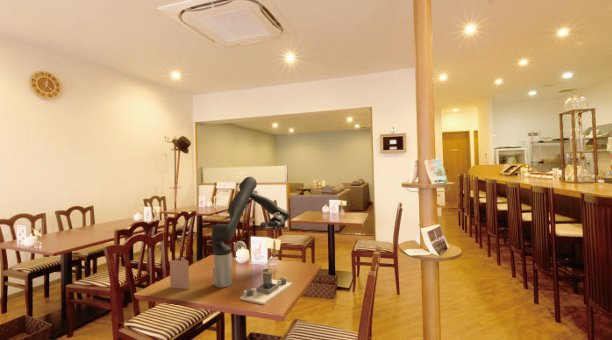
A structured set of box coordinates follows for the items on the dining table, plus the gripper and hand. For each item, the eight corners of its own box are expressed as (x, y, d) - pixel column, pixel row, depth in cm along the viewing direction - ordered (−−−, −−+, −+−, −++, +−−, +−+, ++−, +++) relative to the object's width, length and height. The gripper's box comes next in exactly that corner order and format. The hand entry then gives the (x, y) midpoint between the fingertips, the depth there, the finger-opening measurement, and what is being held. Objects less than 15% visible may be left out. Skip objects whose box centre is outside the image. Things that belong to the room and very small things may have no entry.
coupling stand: (240, 299, 146) (240, 291, 146) (270, 280, 169) (270, 274, 169) (263, 304, 140) (263, 297, 140) (292, 284, 163) (291, 278, 163)
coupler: (261, 290, 153) (260, 271, 153) (266, 287, 158) (266, 268, 158) (268, 292, 151) (268, 272, 151) (274, 288, 155) (273, 269, 155)
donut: (233, 254, 224) (232, 241, 224) (235, 253, 227) (235, 240, 227) (244, 255, 220) (244, 241, 220) (247, 254, 224) (247, 240, 224)
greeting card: (190, 288, 161) (190, 260, 161) (176, 292, 156) (175, 263, 156) (183, 282, 170) (182, 256, 169) (169, 286, 165) (168, 259, 165)
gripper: (265, 216, 187) (257, 220, 171) (287, 216, 185) (282, 220, 169) (265, 228, 187) (257, 233, 171) (287, 228, 185) (282, 233, 169)
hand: (270, 227), depth 170 cm, fingers open, 8 cm apart
